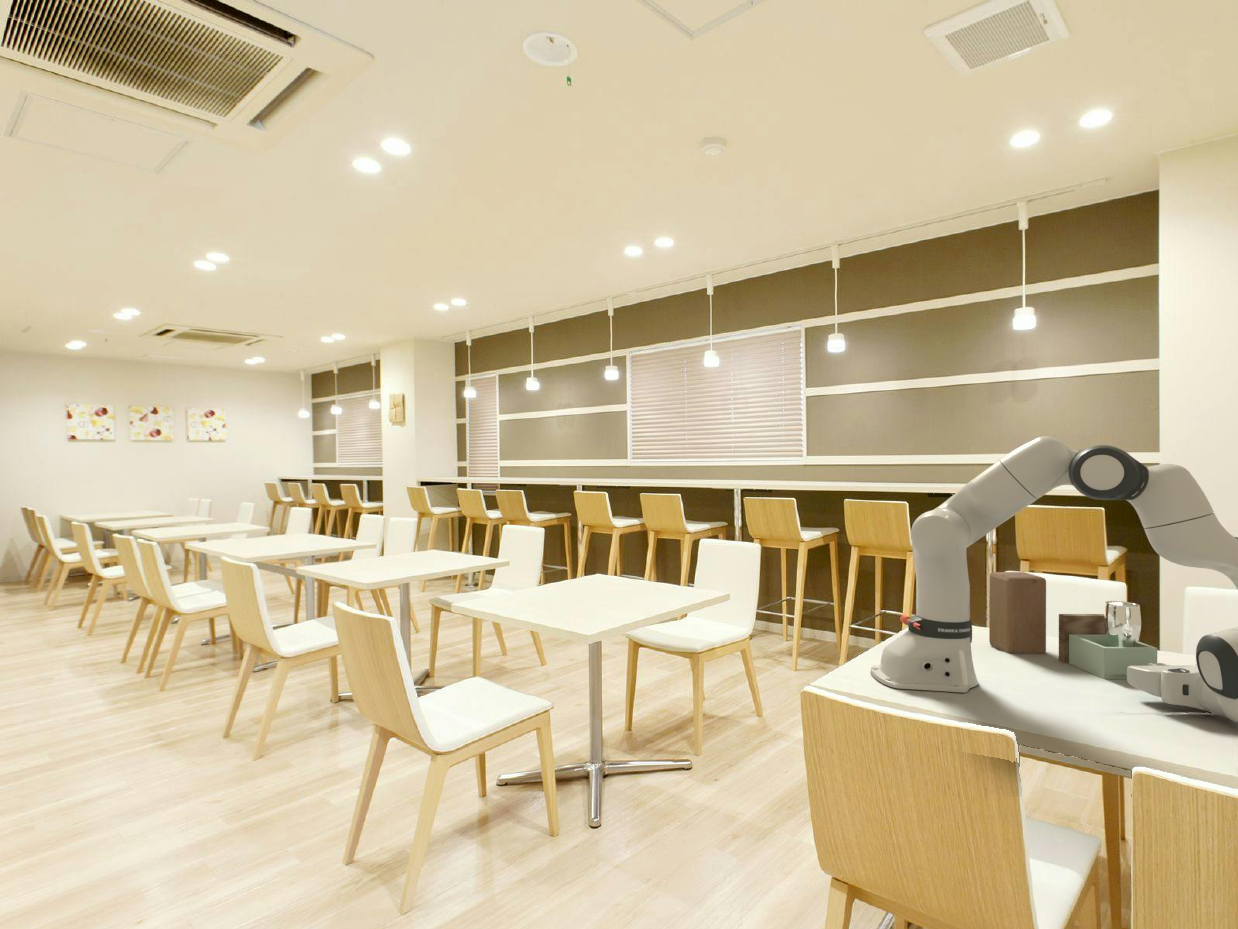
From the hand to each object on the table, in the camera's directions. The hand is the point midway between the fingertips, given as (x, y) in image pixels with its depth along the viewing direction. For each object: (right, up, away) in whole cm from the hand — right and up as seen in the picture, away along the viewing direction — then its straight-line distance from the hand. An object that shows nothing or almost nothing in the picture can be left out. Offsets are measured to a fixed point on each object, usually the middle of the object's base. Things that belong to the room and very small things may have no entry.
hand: (1154, 666), depth 146 cm
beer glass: (+2, -4, +12) cm, 12 cm away
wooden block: (-11, -5, +32) cm, 34 cm away
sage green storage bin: (0, -5, +12) cm, 13 cm away
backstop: (0, -5, +11) cm, 12 cm away
